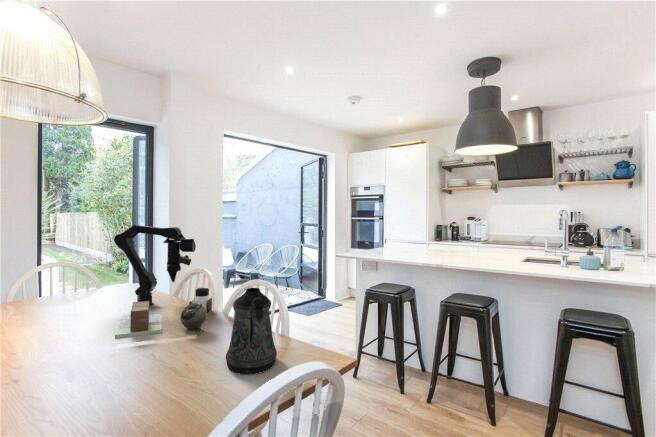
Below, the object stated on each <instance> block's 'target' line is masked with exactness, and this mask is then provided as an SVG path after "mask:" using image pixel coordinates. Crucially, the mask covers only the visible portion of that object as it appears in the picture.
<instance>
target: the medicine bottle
mask: <svg viewBox="0 0 656 437" xmlns="http://www.w3.org/2000/svg"><path fill="white" fill-rule="evenodd" d="M191 302H192V303H199V304H202V305H203V306H204V307H205V308H206V310H207V315H209V314H210V313H211V312H212V310H213V309H212V308H213V297H212V296H210V289H209V288H207V287H198V288H196V289H195V298H193V299H192V300H191Z"/></svg>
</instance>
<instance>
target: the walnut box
mask: <svg viewBox="0 0 656 437" xmlns="http://www.w3.org/2000/svg"><path fill="white" fill-rule="evenodd" d="M149 315H150V305H149V301H142V302H137V301H134V302H132V305H131V309H130V317H131V324H130V328H131V330H130V333H132V332H140V331H148V327H149Z"/></svg>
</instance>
